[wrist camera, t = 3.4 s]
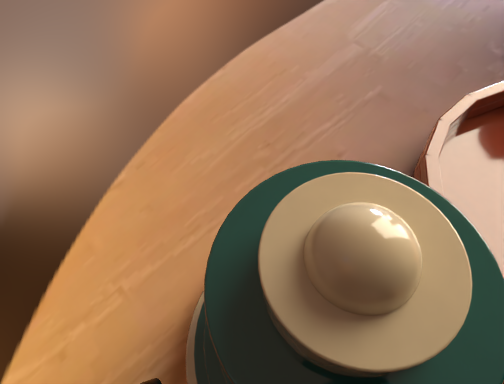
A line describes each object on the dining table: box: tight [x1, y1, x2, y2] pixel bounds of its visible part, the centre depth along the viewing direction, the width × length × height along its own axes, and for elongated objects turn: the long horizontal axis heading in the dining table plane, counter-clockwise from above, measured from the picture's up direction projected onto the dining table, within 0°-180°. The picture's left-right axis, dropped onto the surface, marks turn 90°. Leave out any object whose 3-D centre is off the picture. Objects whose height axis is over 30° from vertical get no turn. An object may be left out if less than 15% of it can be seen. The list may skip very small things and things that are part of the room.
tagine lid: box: [186, 160, 504, 384], centre depth 11 cm, size 11×11×13 cm
